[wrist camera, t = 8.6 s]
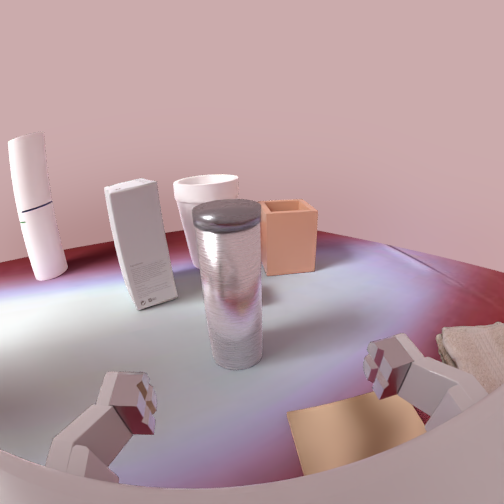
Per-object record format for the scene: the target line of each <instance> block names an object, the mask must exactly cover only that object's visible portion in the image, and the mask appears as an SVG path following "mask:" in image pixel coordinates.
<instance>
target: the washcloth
mask: <svg viewBox="0 0 504 504" xmlns="http://www.w3.org/2000/svg"><path fill="white" fill-rule="evenodd" d="M436 341H437V344H438V347H439V350H438V352H439V355H441V357H440V358H441V360H442V363H444V364H447V365H449V366H452V367H454V368H457V369H459V370H462V371H464V372H467V373H469V374H472V375H473V376H474V377H475V378H476V379H477V381H478V382H479V383H480V384H481V385H482V387H483V388H484V389H485V390H486V392H487V393H488V394H490V393H491V392H493V391H494V390H495V389H497V388H498V387H499V386H501V385H502V384H503V383H504V323H501V322H495V323H494V324H493V325H486V326H458V327H444V328H442V334H438V335H437V336H436Z"/></svg>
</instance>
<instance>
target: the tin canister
mask: <svg viewBox="0 0 504 504" xmlns="http://www.w3.org/2000/svg"><path fill="white" fill-rule="evenodd" d="M192 217H193V225H194V226H195V233H196V242H197V251H198V259H199V267H200V275H201V283H202V290H203V298H204V305H205V311H206V318H207V325H208V331H209V337H210V344H211V350H212V356H213V359H214V361H215V362H216V363H217V364H218V365H219V366H221V367H223V368H225V369H229V370H244V369H247V368H250V367H252V366H254V365H255V364H257V363H258V362H259V360H260V359H261V357H262V352H263V349H262V286H261V238H260V222H261V204H260V203H258V202H255V201H251V200H244V199H223V200H215V201H209V202H205V203H202V204H199V205H197V206H195V207H194V208H193V209H192Z"/></svg>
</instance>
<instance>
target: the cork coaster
mask: <svg viewBox="0 0 504 504" xmlns="http://www.w3.org/2000/svg"><path fill="white" fill-rule="evenodd" d="M287 418H288V422H289V425H290V429H291V432H292V436H293V439H294V443H295V446H296V450H297V453H298V457H299V460H300V464H301V467H302V471H303V474H304V476H306V475H310V474H315V473H319V472H323V471H326V470H330V469H334V468H337V467H340V466H344V465H347V464H350V463H353V462H356V461H359V460H362V459H365V458H368V457H371V456H373V455H376V454H379V453H381V452H384V451H386V450H389V449H391V448H393V447H396V446H398V445H400V444H403V443H405V442H407V441H409V440H411V439H414V438H416V437H418V436H420V435H422V434H424V433H426V432H427V431H426V429H425V428H424V427H425V425H424V423H423V422H422V420H421V418H420V417H419V415H418V414H417V412H416V410H415V409H414V407H413V406H412V404H410V403H409V402H407V401H406V400H404V399H403V398H401V397H399V396H398V394H397V395H394V396H391V397H388V398H385V399H381V400H379V399H378V397H377V395H376V394H375V392H374V391H373V392H370V393H366V394H363V395H359V396H356V397H352V398H349V399H345V400H341V401H337V402H333V403H329V404H324V405H320V406H315V407H311V408H306V409H301V410H295V411H290V412H287Z"/></svg>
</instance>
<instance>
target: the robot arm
mask: <svg viewBox="0 0 504 504" xmlns="http://www.w3.org/2000/svg"><path fill="white" fill-rule="evenodd" d="M367 351H368V352H369V354H368V355H367V356H366V357H365V358H364V362H363V370H364V374H365V376H366V378H367V380H368V381H370V382H372V383H373V387H372V388H373V390H374V392H375V394H376V395H377V397H378V399H379V400H381V399H385V398H388V397H391V396H394V395H397V394H398V396H399V397H401V398H403V399H404V400H406V401H407V402H409V403H410V404H412V405H414V406H415V407H417V408H418V409H420V410H422V411H423V412H425V413H426V414H428V415H430V416H431V417H430V419H429V420H428V422H427V423H426V425H425V427H424V428H425V429H426V431H427V432H426V433H424V434H422V435H420V436H418V437H416V438H414V439H411V440H409V441H407V442H405V443H403V444H400V445H398V446H396V447H393V448H391V449H389V450H386V451H384V452H381V453H379V454H376V455H373V456H371V457H368V458H365V459H362V460H359V461H356V462H353V463H350V464H347V465H344V466H340V467H337V468H334V469H330V470H326V471H323V472H319V473H315V474H310V475H306V476H302V477H297V478H292V479H287V480H281V481H276V482H269V483H262V484H255V485H246V486H236V487H223V488H198V489H183V488H158V487H145V486H135V485H127V484H119V478H118V476H117V475H116V474H115V473H114V472H112V471H111V470H110V469H109V468H108V466H109V465H110V464H111V462H112V461H113V460H114V458H115V457H116V456H117V455H118V453H119V452H120V451H121V450H122V448H123V447H124V446H125V444H126V443H127V442H128V441H129V439H130V438H131V437H132V434H145V435H154V428H155V419H154V417H153V414H154V413H155V412H156V410H157V397H156V393H155V390H154V388H153V386H151V385H150V384H149V381H150V378H149V376H148V374H147V373H145V372H111V371H108V372H107V373H106V374H105V376H104V380H103V383H102V386H101V389H100V392H99V395H98V399H97V402H96V405H94V404H92V405H91V406H90V407H89V408H88V409H86V410H85V411H84V412H83V413H82V414H81V415H80V416H78V417H77V418H76V419H75V420H74V421H73V422H71V423H70V424H69V425H68V426H67V427H66V428H65V429H63V430H62V431H61V432H60V433H59V434H58V435H56V436H55V437H54V438H53V440H52V443H51V446H50V450H49V453H48V456H47V460H46V464H45V466H42V465H39V464H36V463H33V462H31V461H28V460H25V459H23V458H20V457H17V456H15V455H12V454H10V453H8V452H5V451H3V450H1V449H0V504H504V383H503V384H502V385H501V386H499V387H498V388H497V389H495V390H494V391H493V392H491V393H490V394H488V393H487V392H486V390H485V389H484V388H483V387H482V385H481V384H480V383H479V382H478V381H477V379H476V378H475V377H474V376H473V375H472V374H469V373H467V372H464V371H462V370H459V369H457V368H454V367H452V366H449V365H447V364H444V363H442V362H440V361H437V360H435V359H432V358H430V357H424V356H423V355H422V353H421V352H420V351H419V350H418V348H417V347H416V346H415V345H414V344H413V343H412V341H411V340H410V339H409V338H408V337H407V335H406V334H404V333H400V334H397V335H394V336H390V337H387V338H383V339H379V340H376V341H372V342H370V343H369V344H368V347H367Z"/></svg>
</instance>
